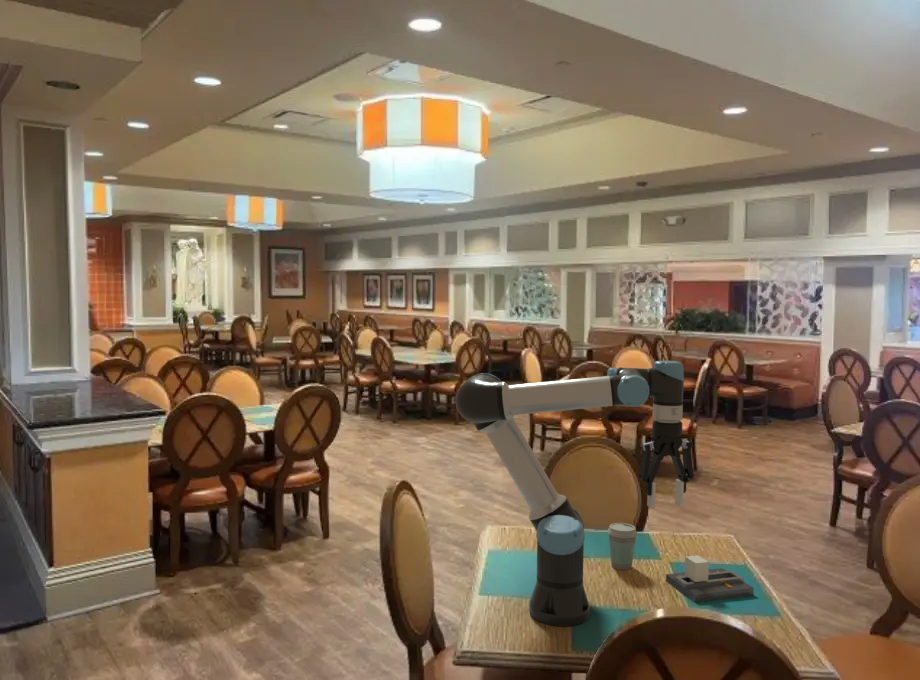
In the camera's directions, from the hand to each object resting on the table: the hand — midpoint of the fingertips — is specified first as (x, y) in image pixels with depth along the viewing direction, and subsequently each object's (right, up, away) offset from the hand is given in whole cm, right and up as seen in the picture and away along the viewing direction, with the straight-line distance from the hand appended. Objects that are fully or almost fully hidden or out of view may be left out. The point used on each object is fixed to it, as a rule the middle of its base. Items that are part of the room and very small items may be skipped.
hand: (665, 505), depth 191 cm
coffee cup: (-6, -24, +24) cm, 34 cm away
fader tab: (+11, -23, +8) cm, 26 cm away
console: (+15, -25, +9) cm, 30 cm away
